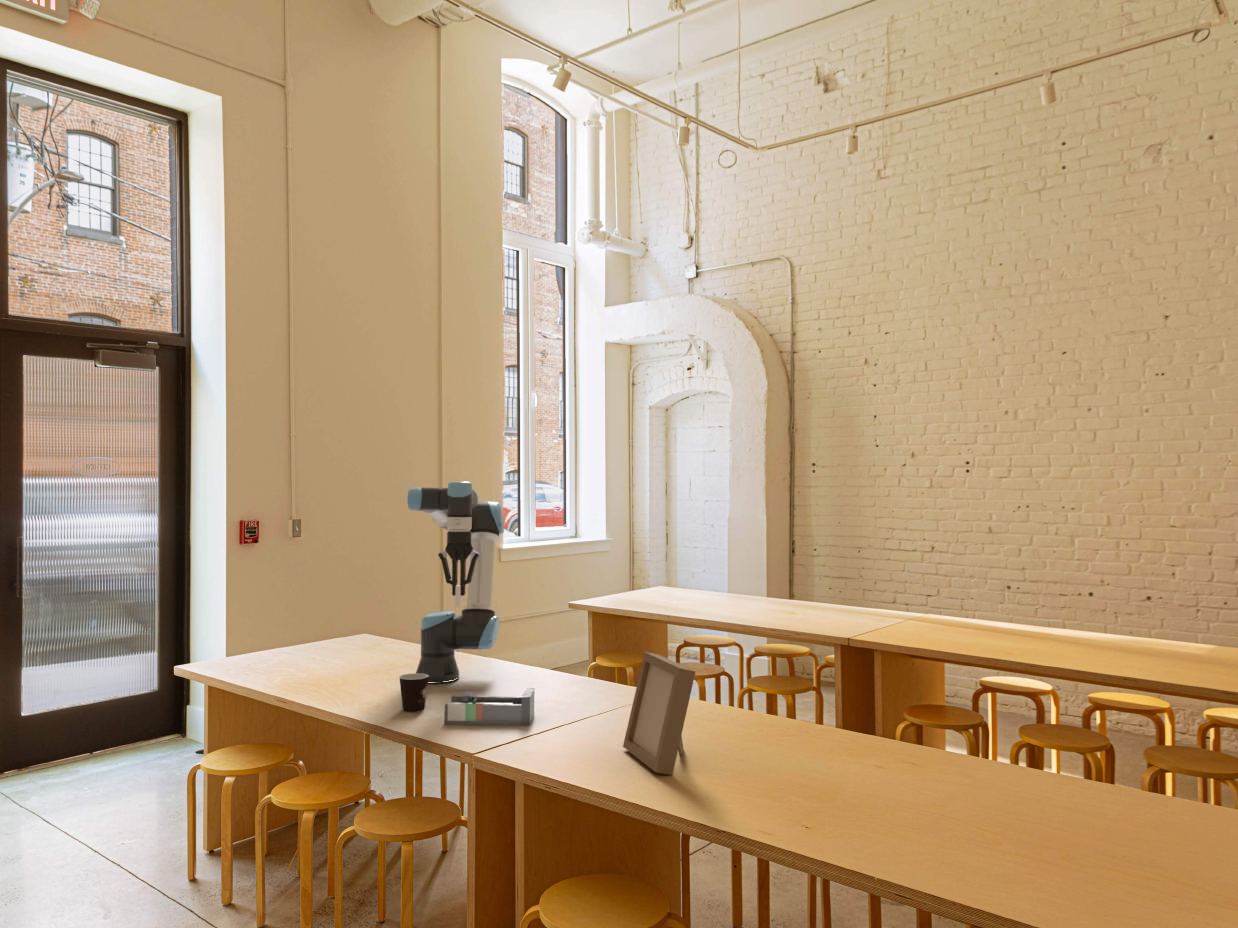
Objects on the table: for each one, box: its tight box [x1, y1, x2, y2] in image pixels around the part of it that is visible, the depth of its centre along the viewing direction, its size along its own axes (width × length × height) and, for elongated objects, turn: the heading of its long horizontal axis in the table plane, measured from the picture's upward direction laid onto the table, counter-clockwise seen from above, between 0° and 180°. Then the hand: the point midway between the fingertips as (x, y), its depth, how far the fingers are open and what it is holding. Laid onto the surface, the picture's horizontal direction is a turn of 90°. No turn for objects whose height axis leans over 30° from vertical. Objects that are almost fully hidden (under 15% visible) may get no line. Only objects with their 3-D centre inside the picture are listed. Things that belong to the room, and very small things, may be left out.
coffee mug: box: [399, 672, 429, 713], centre depth 263 cm, size 12×9×10 cm
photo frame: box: [622, 651, 697, 776], centre depth 215 cm, size 15×22×25 cm
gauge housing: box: [443, 687, 535, 727], centre depth 250 cm, size 11×24×8 cm, turn 89°
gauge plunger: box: [461, 690, 513, 704], centre depth 249 cm, size 10×14×6 cm
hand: (458, 605), depth 269 cm, fingers closed
